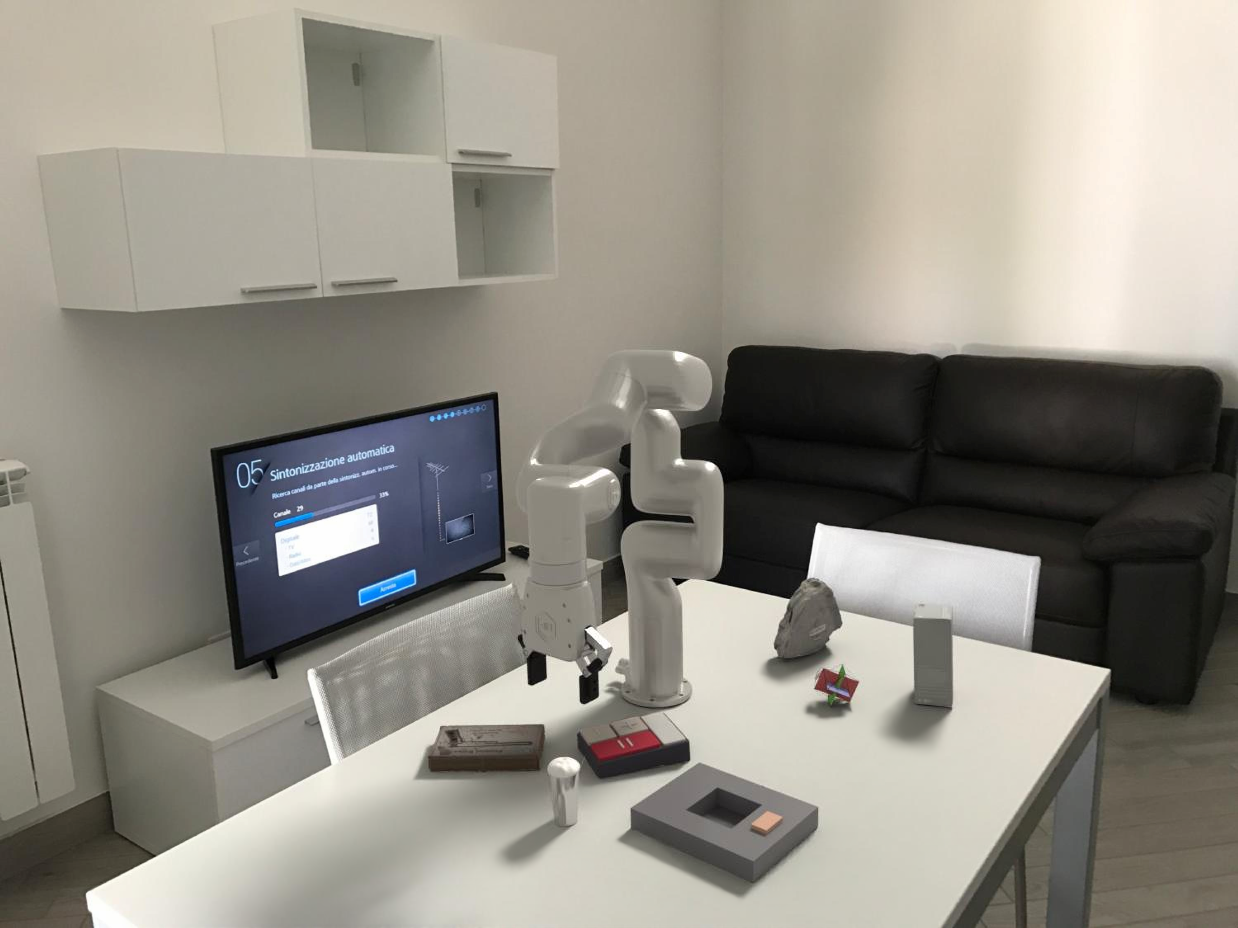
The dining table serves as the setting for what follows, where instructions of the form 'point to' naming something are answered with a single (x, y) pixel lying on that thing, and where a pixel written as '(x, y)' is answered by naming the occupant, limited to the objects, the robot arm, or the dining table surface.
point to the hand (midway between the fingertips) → (562, 691)
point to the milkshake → (564, 789)
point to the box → (487, 748)
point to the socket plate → (725, 820)
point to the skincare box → (933, 654)
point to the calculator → (633, 745)
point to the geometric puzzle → (835, 684)
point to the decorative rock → (808, 620)
